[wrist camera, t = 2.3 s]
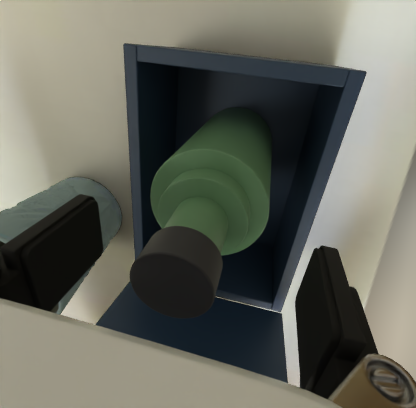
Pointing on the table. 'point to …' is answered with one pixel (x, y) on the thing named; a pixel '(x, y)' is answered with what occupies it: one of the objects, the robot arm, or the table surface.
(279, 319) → the lid
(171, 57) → the box
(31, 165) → the table surface
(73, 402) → the robot arm
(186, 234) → the water bottle
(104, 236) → the green tapered pot
